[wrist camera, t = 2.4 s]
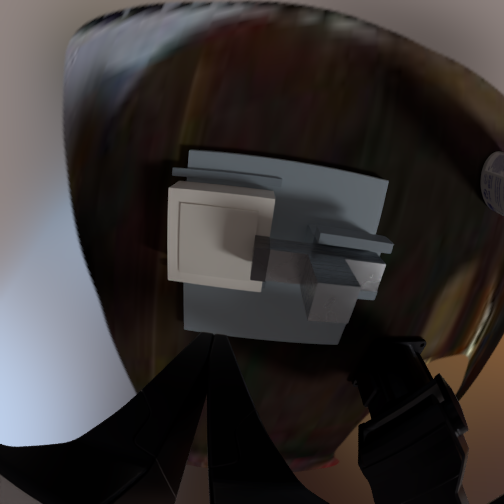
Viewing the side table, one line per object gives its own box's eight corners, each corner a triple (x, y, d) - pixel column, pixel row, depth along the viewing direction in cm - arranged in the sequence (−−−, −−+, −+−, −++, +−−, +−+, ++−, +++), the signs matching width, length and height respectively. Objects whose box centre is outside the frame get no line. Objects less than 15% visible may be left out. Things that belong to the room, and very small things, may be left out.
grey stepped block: (376, 250, 16) (409, 291, 11) (367, 279, 16) (394, 325, 12) (255, 234, 15) (252, 275, 11) (250, 266, 16) (247, 314, 12)
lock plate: (383, 179, 17) (414, 193, 13) (335, 338, 23) (346, 375, 19) (178, 148, 17) (154, 154, 13) (176, 321, 23) (162, 357, 19)
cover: (273, 190, 17) (275, 199, 15) (260, 275, 20) (260, 293, 17) (179, 180, 17) (167, 188, 15) (176, 264, 19) (167, 281, 17)
